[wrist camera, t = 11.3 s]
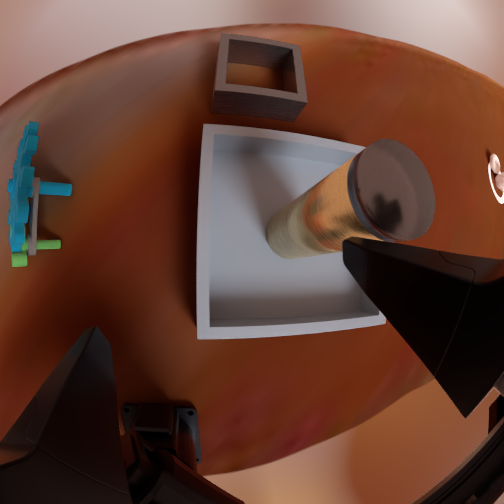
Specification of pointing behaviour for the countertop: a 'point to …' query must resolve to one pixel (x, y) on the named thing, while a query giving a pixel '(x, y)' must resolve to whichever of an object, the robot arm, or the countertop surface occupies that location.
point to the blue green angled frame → (19, 193)
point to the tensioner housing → (257, 98)
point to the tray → (255, 242)
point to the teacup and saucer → (501, 179)
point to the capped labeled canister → (358, 204)
